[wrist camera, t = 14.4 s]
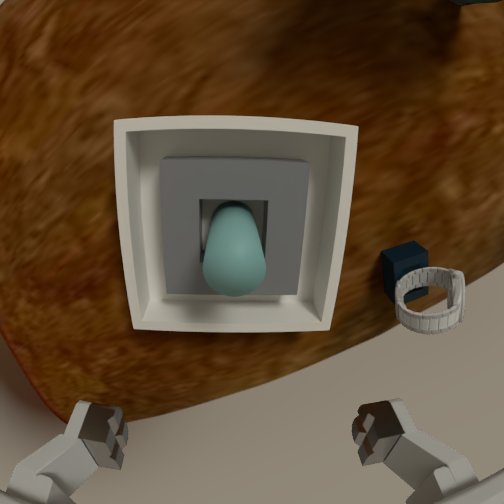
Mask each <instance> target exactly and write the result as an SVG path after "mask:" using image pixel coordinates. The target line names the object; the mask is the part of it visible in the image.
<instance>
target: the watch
mask: <svg viewBox="0 0 504 504" xmlns="http://www.w3.org/2000/svg"><path fill="white" fill-rule="evenodd" d="M381 254H382V264H383V275H384V287H385V293H386V295H387V296H388V297H389V298H390V300H391V301H392V302H393V303H394V305H395V309H396V317H397V320H399V321H400V322H401V324H402V325H403V326H404V327H406V328H407V329H409V330H411V331H414V332H418V333H422V334H439V333H440V332H441V333H443V332H446V331H448V330H450V329H452V328H456V326H457V324H458V321H459V322H462V321H463V318H464V312H465V280H464V275H463V272H460V271H458V270H457V271H456V270H454V269H449V270H448V269H445V268H438V267H428V251H427V250H426V249H425V248H423V247H422V246H421V245H419V244H418V243H417V242H415V241H411V242H408V243H405V244H402V245H399V246H395V247H392V248H389V249H386V250H383V251H381ZM429 285H430V286H437V285H438V287H441V288H445V289H447V290H448V299H447V300H448V309H447V310H445V311H442V313H441V312H438V313H434V314H433V316H432V313H424V314H422V313H417V312H415V313H414V312H413V311H411V310H409V309H407V308H406V305H405V303H407V302H410V301H412V300H415V299H418V298H420V297H423V296H425V295H428V286H429ZM419 319H420V320H419ZM428 327H429V328H428Z"/></svg>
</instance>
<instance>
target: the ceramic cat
mask: <svg viewBox="0 0 504 504" xmlns="http://www.w3.org/2000/svg"><path fill="white" fill-rule="evenodd" d="M449 1H451V2H453V3H455V4H457V5H460V6H464V5H470V4H476V3H494V2H499V1H502V0H449Z"/></svg>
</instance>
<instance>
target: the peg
mask: <svg viewBox="0 0 504 504" xmlns="http://www.w3.org/2000/svg"><path fill="white" fill-rule="evenodd" d="M265 273H266V263H265V258H264V254H263V250H262V246H261V242H260V238H259V234H258V230H257V226H256V222H255V218H254V215H253V212H252V210H251V209H250V208H249V207H248V206H247V205H246V204H244V203H242V202H240V201H234V200H232V201H226V202H224V203H222V204H220V205H219V206H218V207H217V208H216V209H215V210H214V212H213V214H212V217H211V223H210V228H209V234H208V239H207V245H206V250H205V256H204V262H203V275H204V278H205V280H206V282H207V283H208V285H209V286H210V287H211V288H212V289H213V290H215V291H216V292H218V293H220V294H222V295H225V296H230V297H238V296H243V295H246V294H249V293H251V292H253V291H254V290H255V289H256V288H258V287H259V285H260V284H261V283H262V281H263V279H264V277H265Z"/></svg>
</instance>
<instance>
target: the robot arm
mask: <svg viewBox="0 0 504 504" xmlns="http://www.w3.org/2000/svg"><path fill="white" fill-rule="evenodd" d="M122 414H123V413H122V411H121V408H120V407H115V406H109V405H103V404H97V403H92V402H87V401H81V400H79V401H78V402H77V403H76V406H75V408H74V410H73V413H72V415H71V418H70V420H69V423H68V425H67V428H66V430H65V433H64V435H62V434H60V435H58V436H57V437H55V438H54V439H53V440H51V441H50V442H48V443H47V444H45V445H44V446H43V447H41V448H40V449H38V450H37V451H35V452H34V453H32V454H31V455H30V456H28V457H27V458H25V459H24V460H23V461H21V462H19V463H18V464H17V465H16V467H15V470H14V472H13V475H12V477H11V480H10V482H9V485H8V488H7V490H6V492H4V491H2V490H0V504H76V503H75V502H73V501H72V499H71V498H69V496H70V495H72V494H73V493H74V491H76V489H78V488H79V487H80V486H81V485H82V484H83V483H84V482H85V481H86V480H87V479H88V478H89V477H90V476H91V475H92V474H93V473H94V472H95V471H96V470H97V469H98V466H100V467H106V468H112V469H118V470H121V467H122V462H123V457H124V454H123V452H122V450H121V449H122V448H123V447H125V446H126V445H127V440H128V427H127V423H126V421H125V420H124V419H122V418H121V417H122ZM358 414H359V416H357V417H356V418H355V419H354V421H353V424H352V436H353V439H354V442H355V443H356V444H358V445H359V446H360V447H359V450H358V454H359V457H360V460H361V463H362V466H364V465H370V464H375V463H380V462H384V464H385V465H386V466H388V467H389V468H390V469H391V470H392V471H393V472H394V473H396V474H397V475H398V476H399V477H401V479H403V480H404V481H405V482H406V483H407V484H409V485H410V486H411V487H412V488H413V489H414V490H415V491H414V492H413V493H412V494H411V496H409V497H408V499H407V500H406V504H504V468H503V469H501V470H500V471H498V472H496V473H494V474H492V475H491V476H489V477H487V478H485V479H483V480H481V481H478V479H477V477H476V475H475V473H474V471H473V469H472V467H471V466H470V463H469V462H468V460H467V458H466V456H464V455H462V454H460V453H459V452H457V451H455V450H454V449H452V448H450V447H449V446H447V445H445V444H444V443H442V442H440V441H439V440H437V439H435V438H434V437H432V436H430V435H429V434H427V433H426V432H424V431H423V430H417V428H416V426H415V424H414V422H413V420H412V418H411V416H410V414H409V412H408V410H407V408H406V407H405V405H404V403H403V401H402V400H401V399H400V398H398V399H393V400H388V401H380V402H375V403H369V404H363V405H361V406H360V407H359V409H358Z"/></svg>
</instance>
